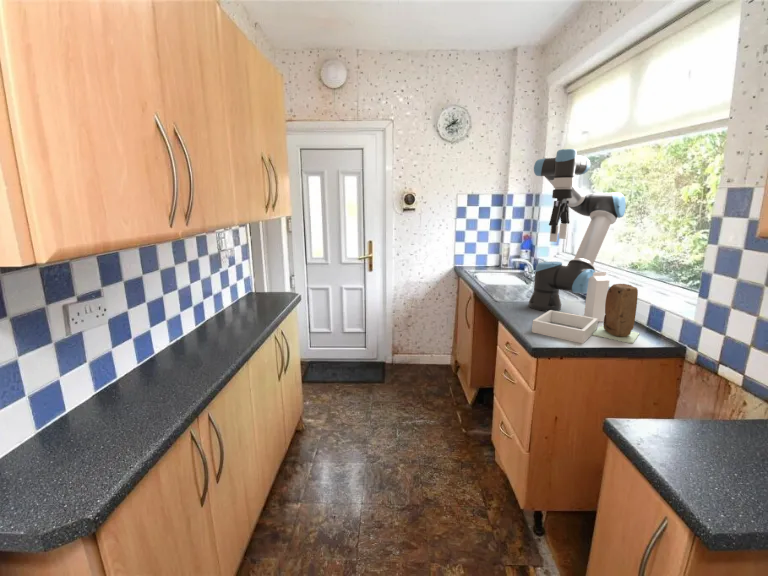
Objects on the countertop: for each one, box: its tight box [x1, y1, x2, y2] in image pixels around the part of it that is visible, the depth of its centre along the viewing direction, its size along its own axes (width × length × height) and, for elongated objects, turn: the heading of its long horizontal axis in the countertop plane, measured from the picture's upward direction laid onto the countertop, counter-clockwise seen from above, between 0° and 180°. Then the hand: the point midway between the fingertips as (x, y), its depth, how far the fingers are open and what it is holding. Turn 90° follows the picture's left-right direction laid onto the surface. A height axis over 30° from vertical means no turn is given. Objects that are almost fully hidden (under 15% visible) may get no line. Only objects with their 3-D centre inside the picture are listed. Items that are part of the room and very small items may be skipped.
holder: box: [531, 310, 598, 344], centre depth 160 cm, size 20×19×5 cm
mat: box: [591, 325, 640, 344], centre depth 157 cm, size 14×14×1 cm
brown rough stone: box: [603, 283, 639, 337], centre depth 154 cm, size 11×8×20 cm
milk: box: [583, 271, 610, 323], centre depth 174 cm, size 6×6×22 cm
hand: (557, 240), depth 165 cm, fingers open, 13 cm apart
